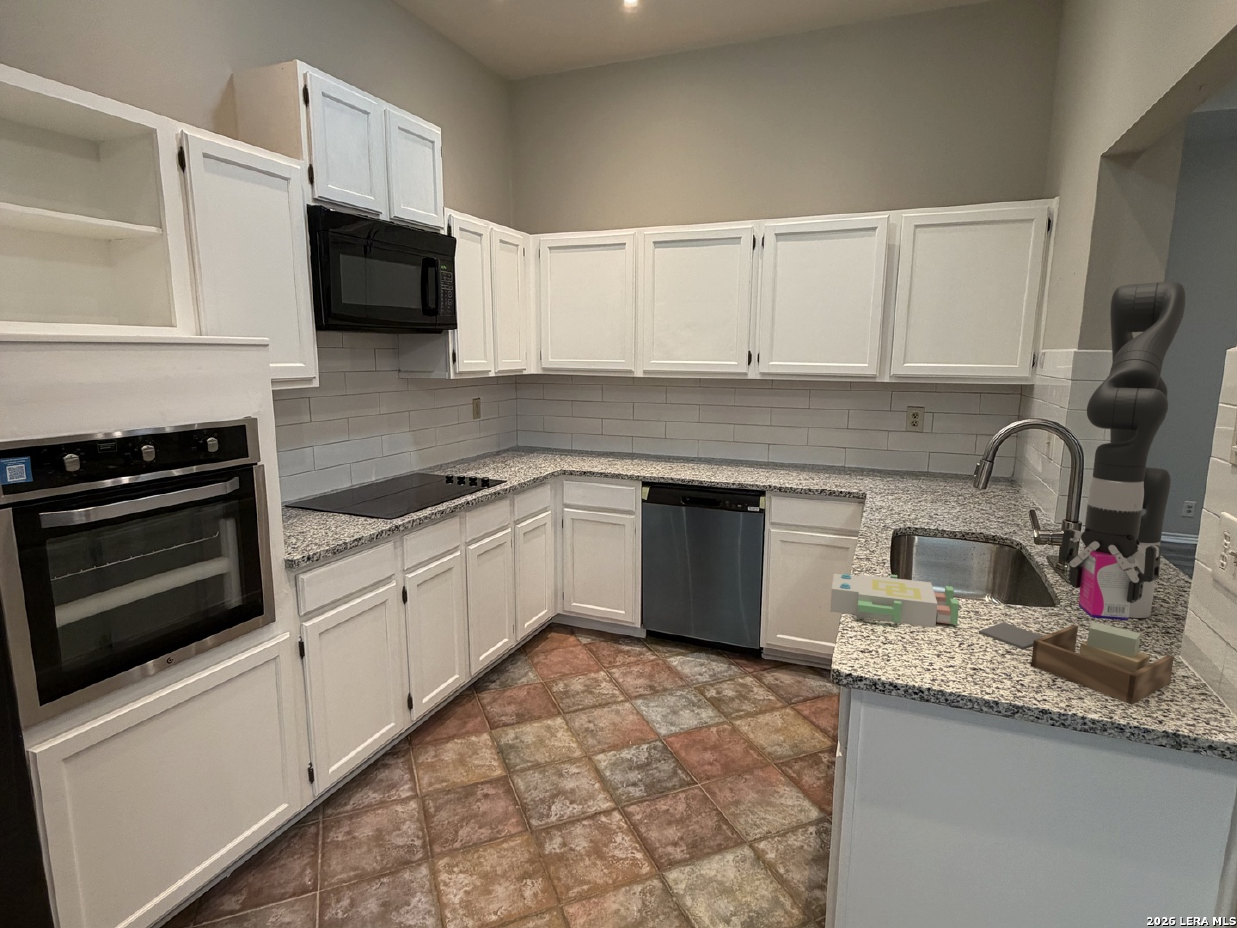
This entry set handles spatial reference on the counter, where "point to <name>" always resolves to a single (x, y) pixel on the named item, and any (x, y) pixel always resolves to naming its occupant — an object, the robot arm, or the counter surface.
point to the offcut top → (1113, 639)
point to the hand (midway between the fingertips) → (1103, 594)
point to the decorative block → (893, 600)
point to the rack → (1098, 668)
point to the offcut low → (1115, 658)
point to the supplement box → (1104, 587)
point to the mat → (1011, 635)
